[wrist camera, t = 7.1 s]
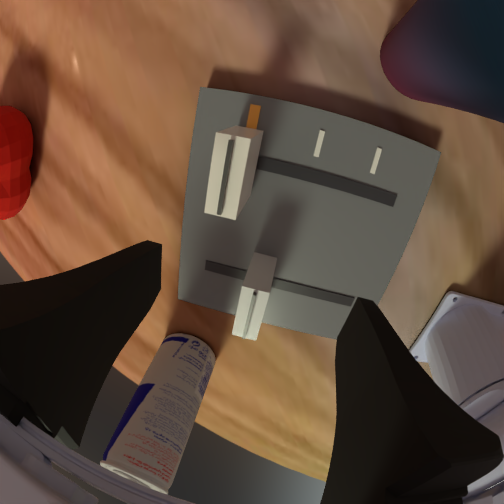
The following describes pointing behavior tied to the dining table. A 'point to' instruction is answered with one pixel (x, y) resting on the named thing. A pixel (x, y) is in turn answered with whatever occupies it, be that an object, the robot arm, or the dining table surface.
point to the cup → (450, 55)
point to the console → (300, 215)
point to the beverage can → (161, 414)
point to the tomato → (14, 160)
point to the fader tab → (232, 170)
